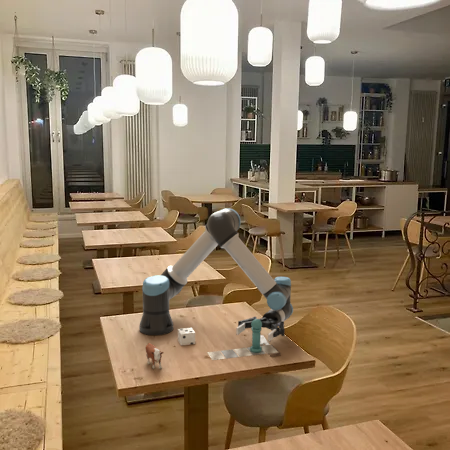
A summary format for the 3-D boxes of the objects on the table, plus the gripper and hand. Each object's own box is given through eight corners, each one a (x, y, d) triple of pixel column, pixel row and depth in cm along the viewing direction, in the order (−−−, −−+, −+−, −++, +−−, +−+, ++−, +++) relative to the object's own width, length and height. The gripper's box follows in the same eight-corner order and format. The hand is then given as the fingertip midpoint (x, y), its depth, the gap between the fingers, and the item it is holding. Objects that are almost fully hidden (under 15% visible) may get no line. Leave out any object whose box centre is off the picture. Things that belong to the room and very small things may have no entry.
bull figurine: (153, 375, 177) (153, 353, 176) (144, 360, 189) (144, 340, 188) (165, 372, 179) (165, 351, 177) (155, 358, 191) (155, 338, 189)
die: (180, 348, 201) (180, 333, 200) (177, 342, 206) (177, 328, 206) (195, 346, 202) (195, 332, 202) (191, 341, 208) (191, 327, 207)
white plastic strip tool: (260, 351, 199) (260, 348, 199) (252, 337, 214) (252, 335, 214) (272, 350, 200) (272, 348, 200) (263, 337, 215) (263, 334, 214)
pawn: (252, 353, 193) (253, 321, 191) (248, 348, 198) (249, 317, 196) (263, 352, 195) (264, 320, 193) (259, 347, 199) (260, 316, 197)
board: (211, 364, 186) (211, 361, 186) (204, 354, 195) (204, 351, 194) (280, 355, 194) (280, 352, 194) (271, 346, 203) (271, 344, 203)
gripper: (301, 332, 205) (282, 350, 187) (246, 322, 217) (224, 337, 198) (301, 314, 204) (283, 331, 186) (247, 305, 216) (224, 320, 197)
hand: (252, 334), depth 192 cm, fingers open, 13 cm apart
